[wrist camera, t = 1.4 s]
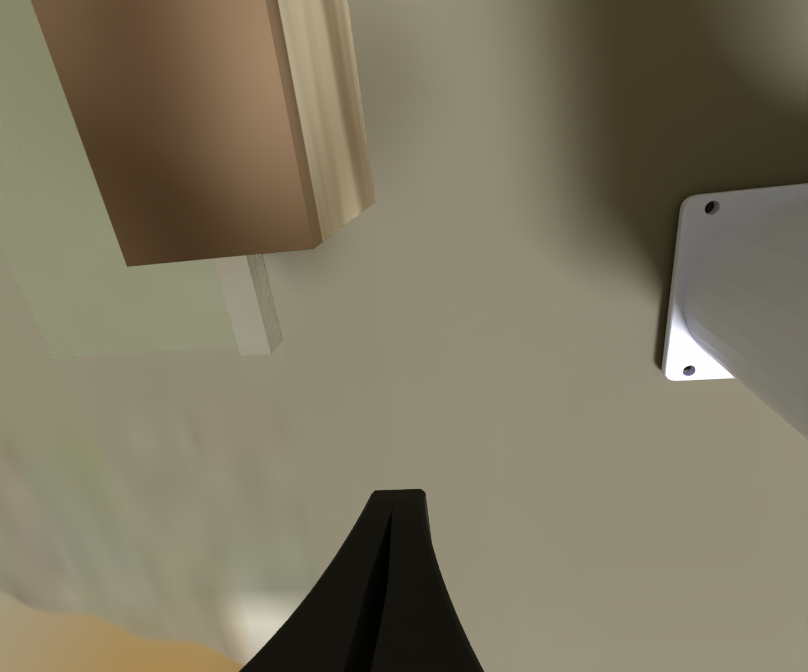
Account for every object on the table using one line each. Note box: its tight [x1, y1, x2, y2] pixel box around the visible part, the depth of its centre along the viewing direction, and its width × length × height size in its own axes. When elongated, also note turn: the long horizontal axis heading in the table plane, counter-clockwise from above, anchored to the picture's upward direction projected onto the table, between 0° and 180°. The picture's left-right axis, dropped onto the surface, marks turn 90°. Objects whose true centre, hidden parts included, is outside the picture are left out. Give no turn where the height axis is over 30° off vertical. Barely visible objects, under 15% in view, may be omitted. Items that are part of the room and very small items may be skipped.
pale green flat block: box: [0, 0, 283, 359], centre depth 18 cm, size 13×20×2 cm, turn 7°
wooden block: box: [31, 0, 375, 267], centre depth 14 cm, size 5×8×9 cm, turn 7°
